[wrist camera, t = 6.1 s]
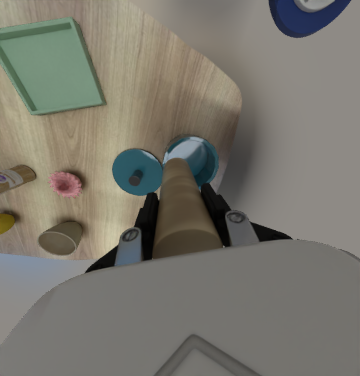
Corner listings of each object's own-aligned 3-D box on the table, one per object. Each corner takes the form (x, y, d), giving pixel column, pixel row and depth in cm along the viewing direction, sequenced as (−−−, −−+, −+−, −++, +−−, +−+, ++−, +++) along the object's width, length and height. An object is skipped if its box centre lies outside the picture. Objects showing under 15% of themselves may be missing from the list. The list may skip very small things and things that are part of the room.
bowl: (93, 222, 43) (79, 239, 37) (85, 240, 47) (71, 259, 40) (59, 210, 40) (39, 227, 34) (53, 231, 44) (34, 250, 37)
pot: (208, 130, 33) (218, 132, 26) (210, 175, 38) (218, 186, 32) (159, 138, 33) (157, 142, 26) (168, 182, 38) (168, 195, 32)
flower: (86, 167, 35) (73, 175, 30) (92, 193, 38) (81, 203, 33) (54, 165, 34) (34, 172, 29) (63, 191, 37) (47, 202, 32)
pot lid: (157, 144, 33) (155, 148, 28) (167, 190, 40) (166, 199, 35) (105, 153, 33) (94, 158, 28) (123, 197, 40) (117, 207, 35)
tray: (78, 24, 23) (71, 16, 21) (106, 104, 29) (102, 103, 27) (-5, 38, 23) (-20, 31, 21) (39, 115, 29) (30, 115, 27)
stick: (187, 155, 19) (223, 223, 6) (191, 180, 20) (223, 270, 8) (160, 160, 19) (142, 236, 6) (166, 184, 21) (161, 280, 8)
